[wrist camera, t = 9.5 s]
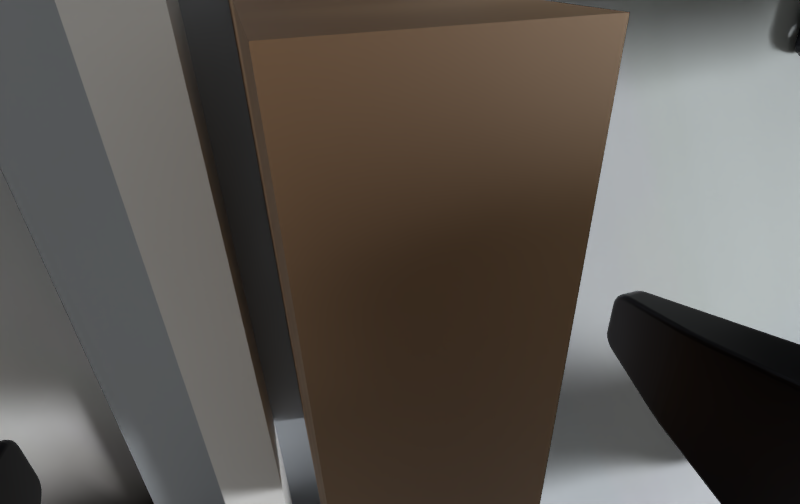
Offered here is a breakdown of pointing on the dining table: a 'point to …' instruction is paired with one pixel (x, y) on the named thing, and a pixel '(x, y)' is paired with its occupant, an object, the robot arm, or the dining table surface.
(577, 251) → the door panel
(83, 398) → the dining table surface
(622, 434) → the dining table surface
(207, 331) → the track board
